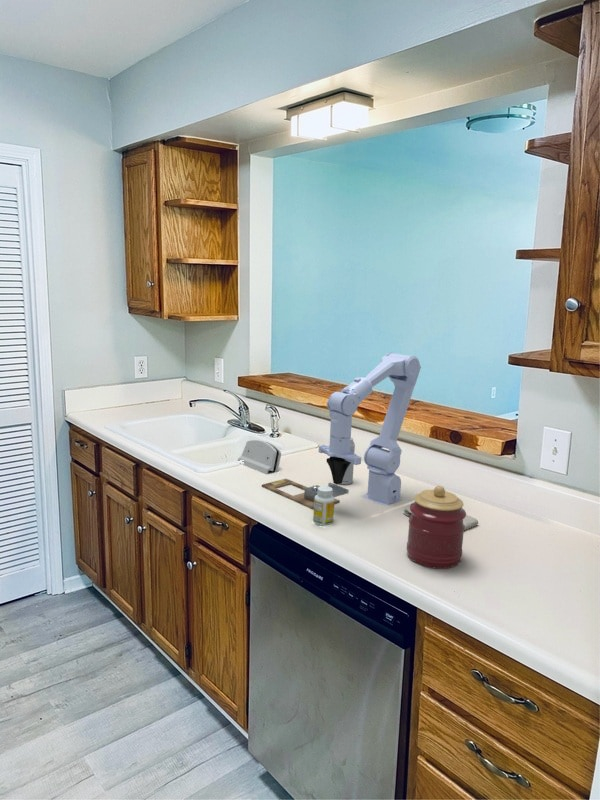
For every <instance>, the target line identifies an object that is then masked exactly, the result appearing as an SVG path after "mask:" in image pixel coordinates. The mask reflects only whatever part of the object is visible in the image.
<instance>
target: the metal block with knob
mask: <svg viewBox="0 0 600 800" xmlns="http://www.w3.org/2000/svg"><path fill="white" fill-rule="evenodd" d="M318 487H320V485H312V486H309V487H308V488H305V491H304V492H303V493H304V498H305V499H307V500H309V501H312V502H314V498H315V496H316V495H317V494H318V493H317V490H318Z"/></svg>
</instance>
